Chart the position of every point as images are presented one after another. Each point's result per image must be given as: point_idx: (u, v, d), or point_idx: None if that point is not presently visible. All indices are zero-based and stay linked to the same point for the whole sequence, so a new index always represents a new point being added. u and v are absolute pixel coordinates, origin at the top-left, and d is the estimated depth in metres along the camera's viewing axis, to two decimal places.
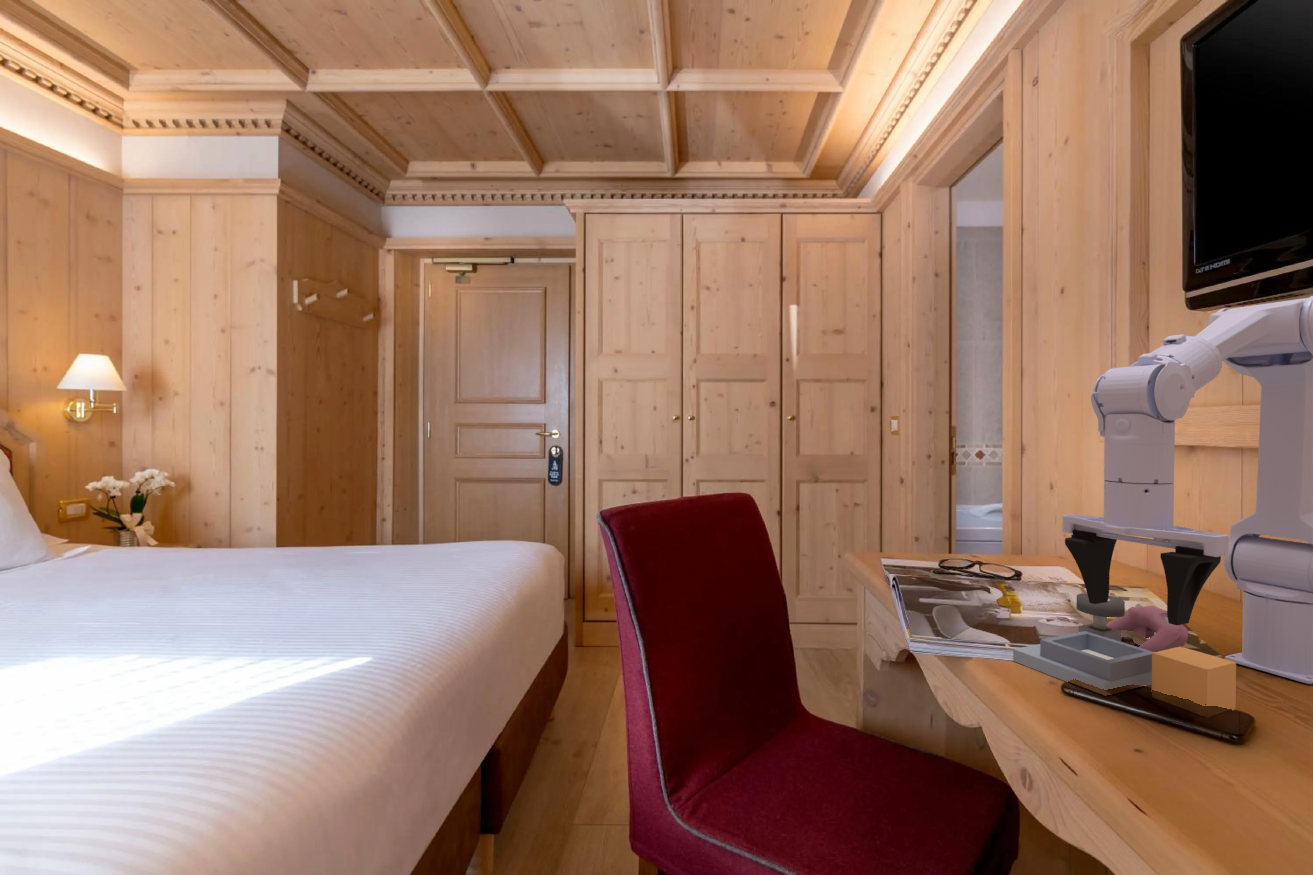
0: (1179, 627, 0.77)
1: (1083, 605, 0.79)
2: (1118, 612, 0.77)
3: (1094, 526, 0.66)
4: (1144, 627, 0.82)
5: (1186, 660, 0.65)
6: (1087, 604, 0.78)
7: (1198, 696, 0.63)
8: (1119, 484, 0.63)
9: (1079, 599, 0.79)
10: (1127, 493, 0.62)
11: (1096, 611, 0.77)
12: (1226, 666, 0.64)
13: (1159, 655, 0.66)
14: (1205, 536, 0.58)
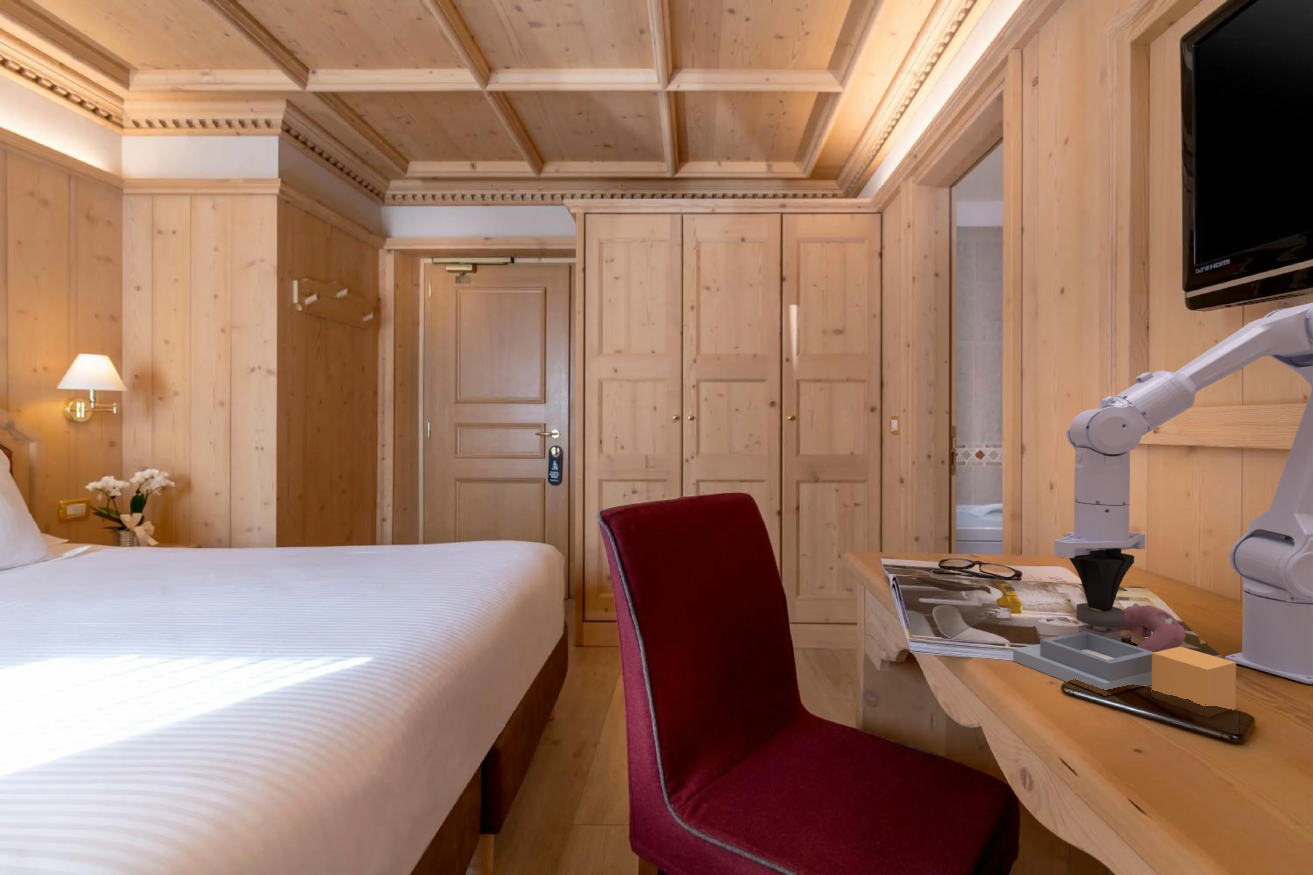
0: (1176, 626, 0.77)
1: (1083, 615, 0.79)
2: (1117, 622, 0.77)
3: None
4: (1141, 626, 0.82)
5: (1186, 660, 0.65)
6: (1086, 614, 0.78)
7: (1198, 696, 0.63)
8: None
9: (1079, 609, 0.79)
10: None
11: (1096, 621, 0.77)
12: (1226, 666, 0.64)
13: (1159, 655, 0.66)
14: None
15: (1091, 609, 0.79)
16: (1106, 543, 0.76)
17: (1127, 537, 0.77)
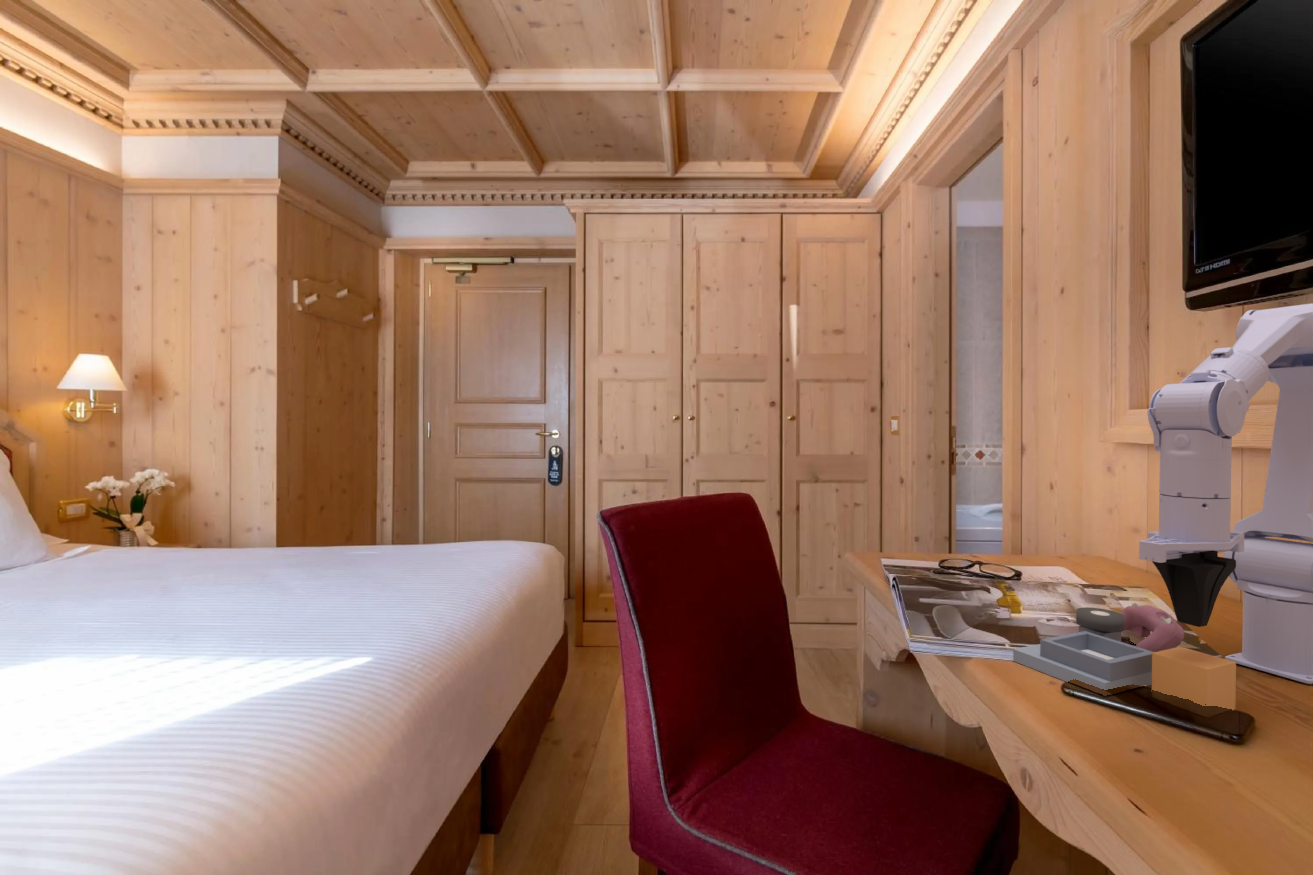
0: (1175, 626, 0.77)
1: (1083, 619, 0.79)
2: (1117, 626, 0.77)
3: None
4: (1140, 626, 0.82)
5: (1186, 660, 0.65)
6: (1086, 619, 0.78)
7: (1198, 696, 0.63)
8: (1163, 494, 0.68)
9: (1079, 613, 0.79)
10: None
11: (1096, 626, 0.77)
12: (1226, 666, 0.64)
13: (1159, 655, 0.66)
14: None
15: (1091, 614, 0.79)
16: (1204, 545, 0.63)
17: (1229, 537, 0.63)
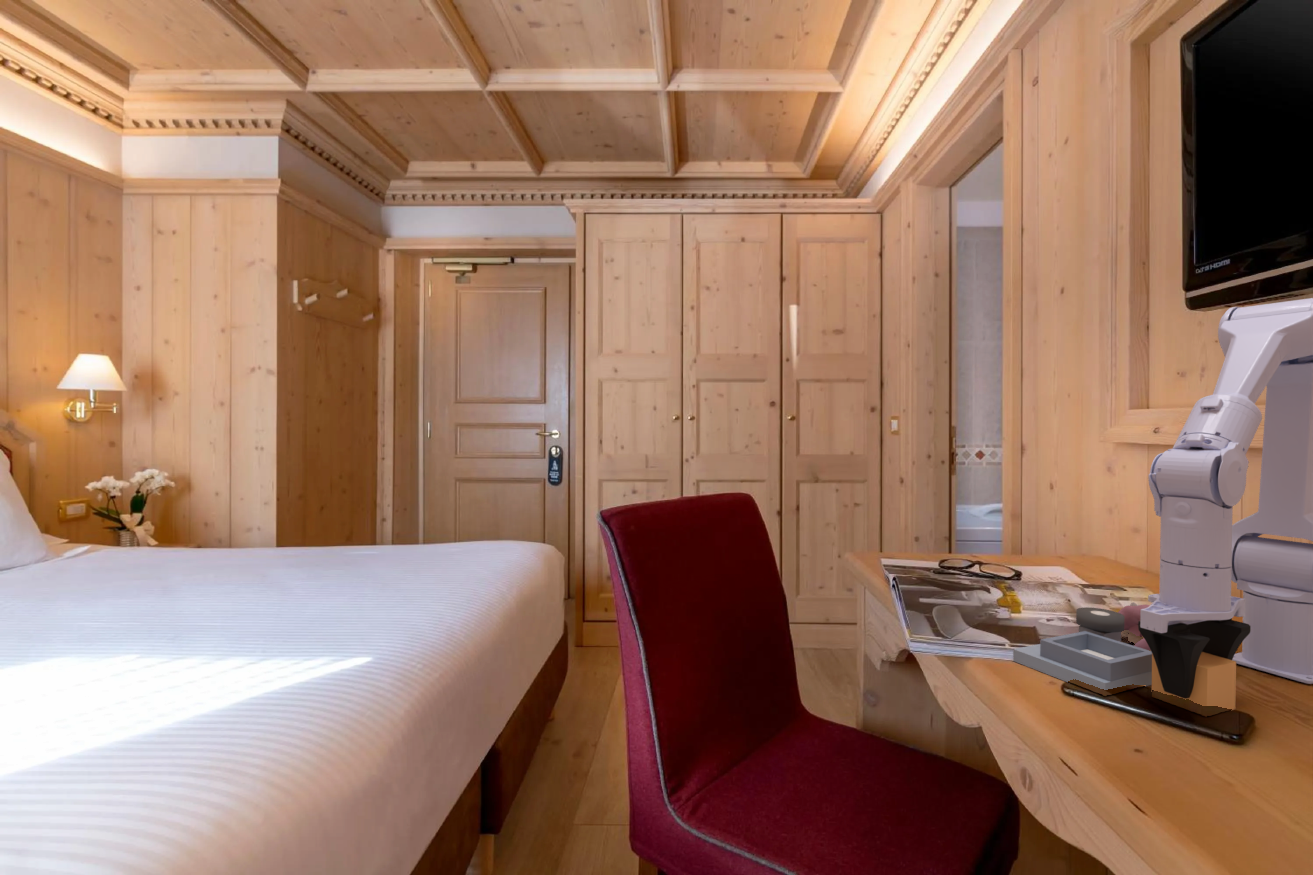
0: None
1: (1083, 619, 0.79)
2: (1117, 626, 0.77)
3: None
4: None
5: None
6: (1086, 619, 0.78)
7: (1198, 695, 0.63)
8: None
9: (1079, 613, 0.79)
10: None
11: (1096, 626, 0.77)
12: (1226, 665, 0.64)
13: None
14: (1145, 609, 0.64)
15: (1091, 614, 0.79)
16: (1205, 614, 0.62)
17: (1229, 606, 0.63)
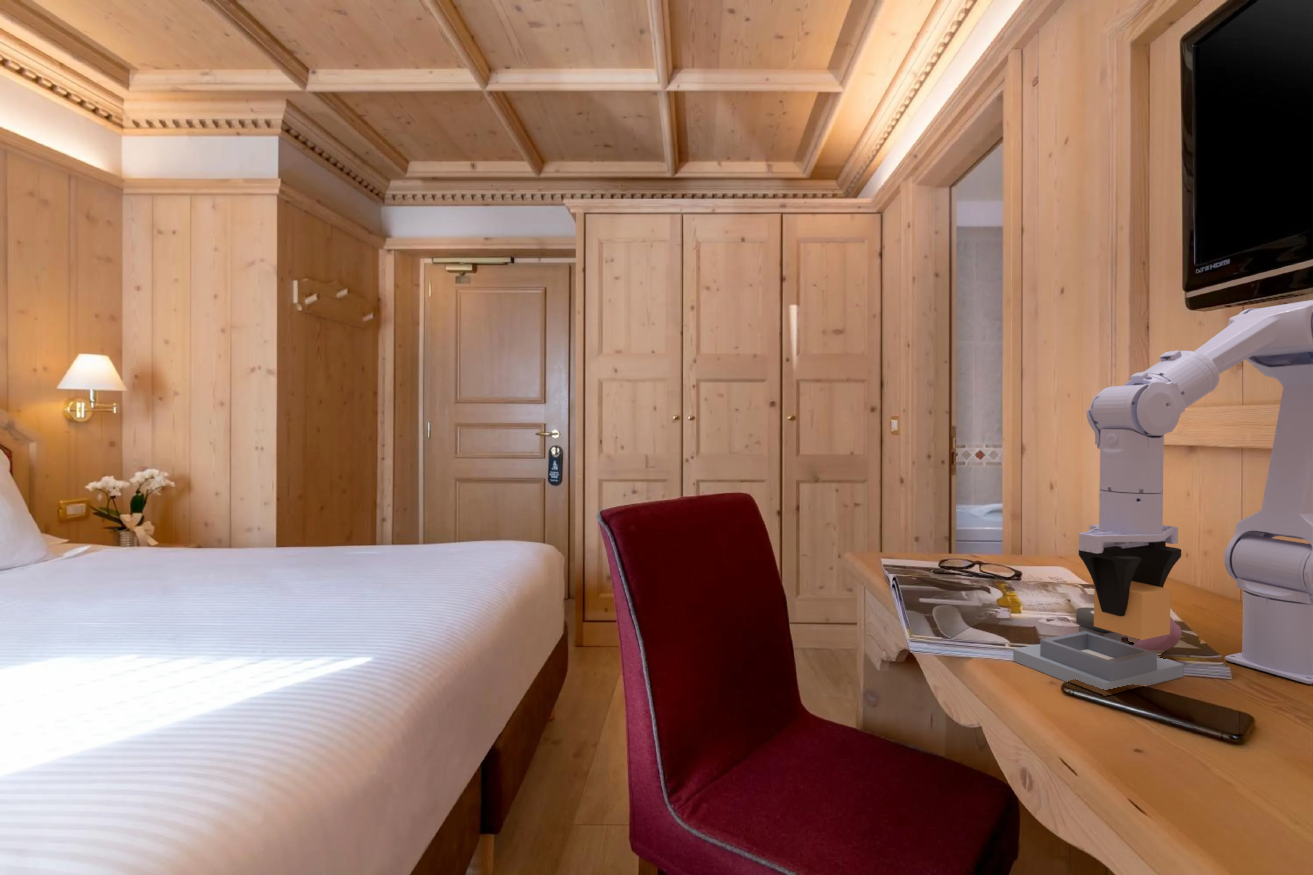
0: (1173, 625, 0.77)
1: (1083, 619, 0.79)
2: None
3: None
4: None
5: None
6: (1086, 619, 0.78)
7: (1134, 619, 0.67)
8: (1104, 490, 0.73)
9: (1079, 613, 0.79)
10: None
11: None
12: (1161, 592, 0.68)
13: None
14: None
15: (1091, 614, 0.79)
16: (1138, 536, 0.67)
17: (1161, 530, 0.68)
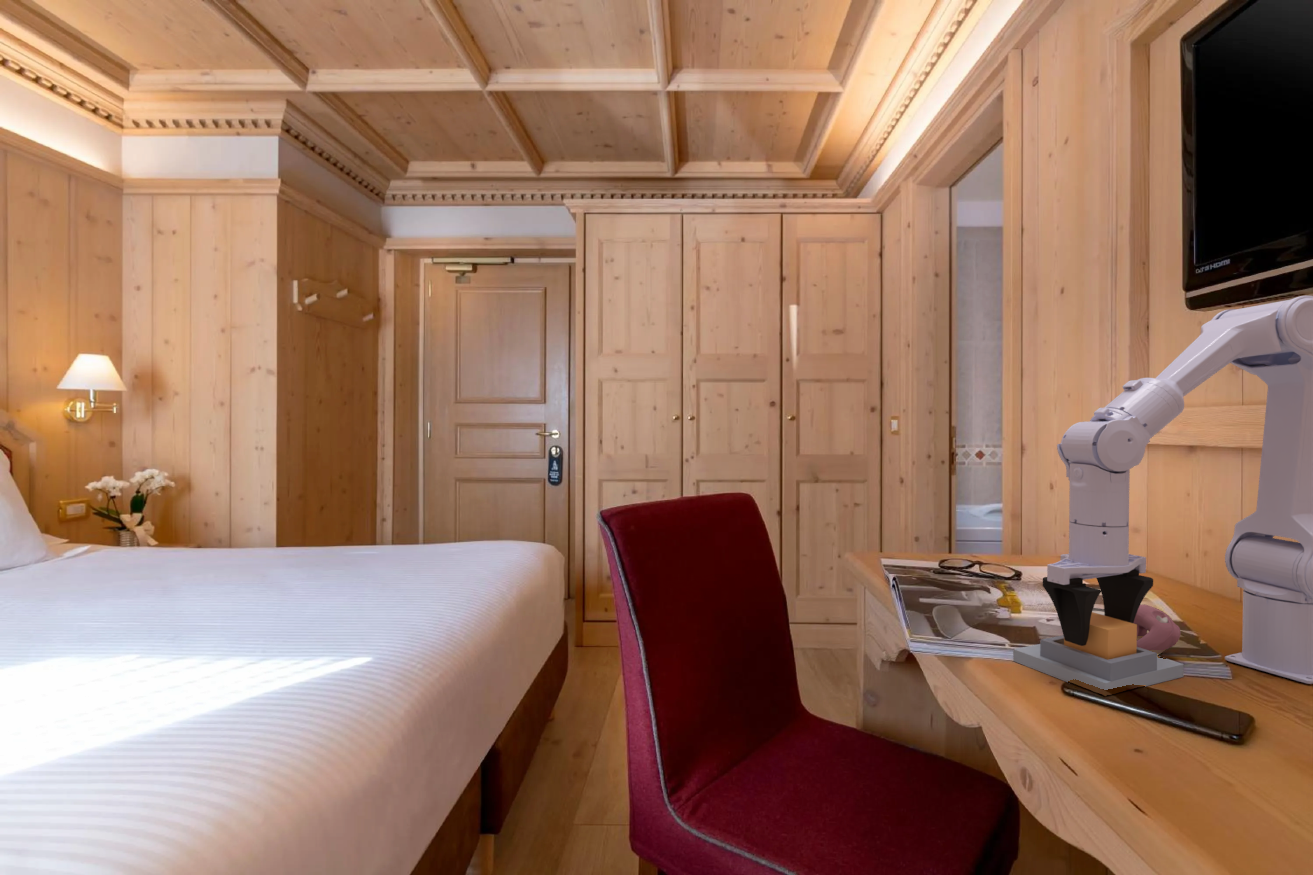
0: (1171, 625, 0.77)
1: None
2: None
3: None
4: (1137, 625, 0.83)
5: (1092, 623, 0.72)
6: None
7: (1101, 654, 0.70)
8: None
9: None
10: None
11: None
12: (1127, 628, 0.70)
13: None
14: (1051, 564, 0.71)
15: None
16: (1103, 568, 0.70)
17: (1126, 561, 0.70)
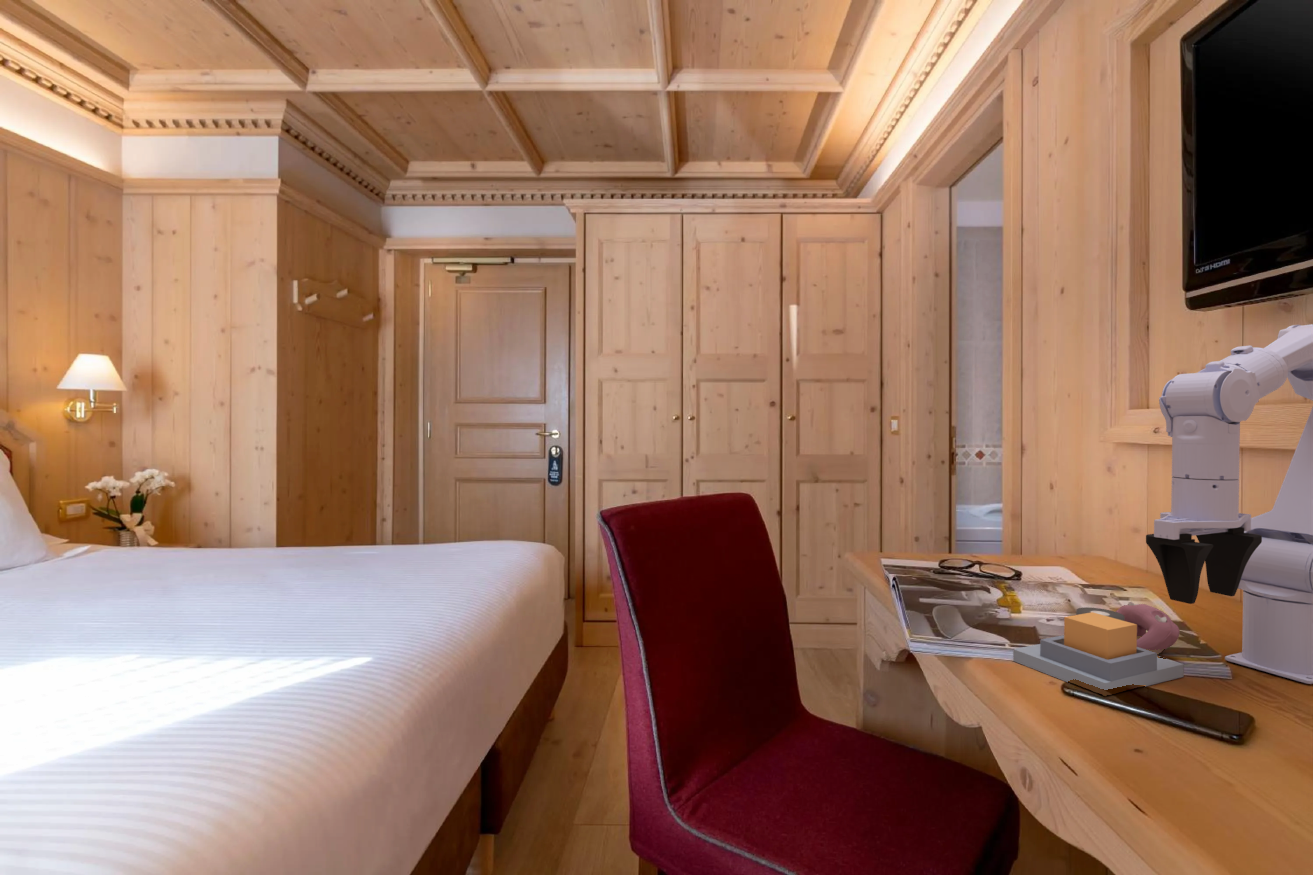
0: (1170, 625, 0.77)
1: None
2: None
3: None
4: None
5: (1092, 623, 0.72)
6: None
7: (1101, 654, 0.70)
8: (1175, 477, 0.73)
9: (1079, 613, 0.79)
10: None
11: None
12: (1127, 628, 0.70)
13: (1070, 619, 0.73)
14: None
15: None
16: (1214, 523, 0.67)
17: (1237, 516, 0.68)
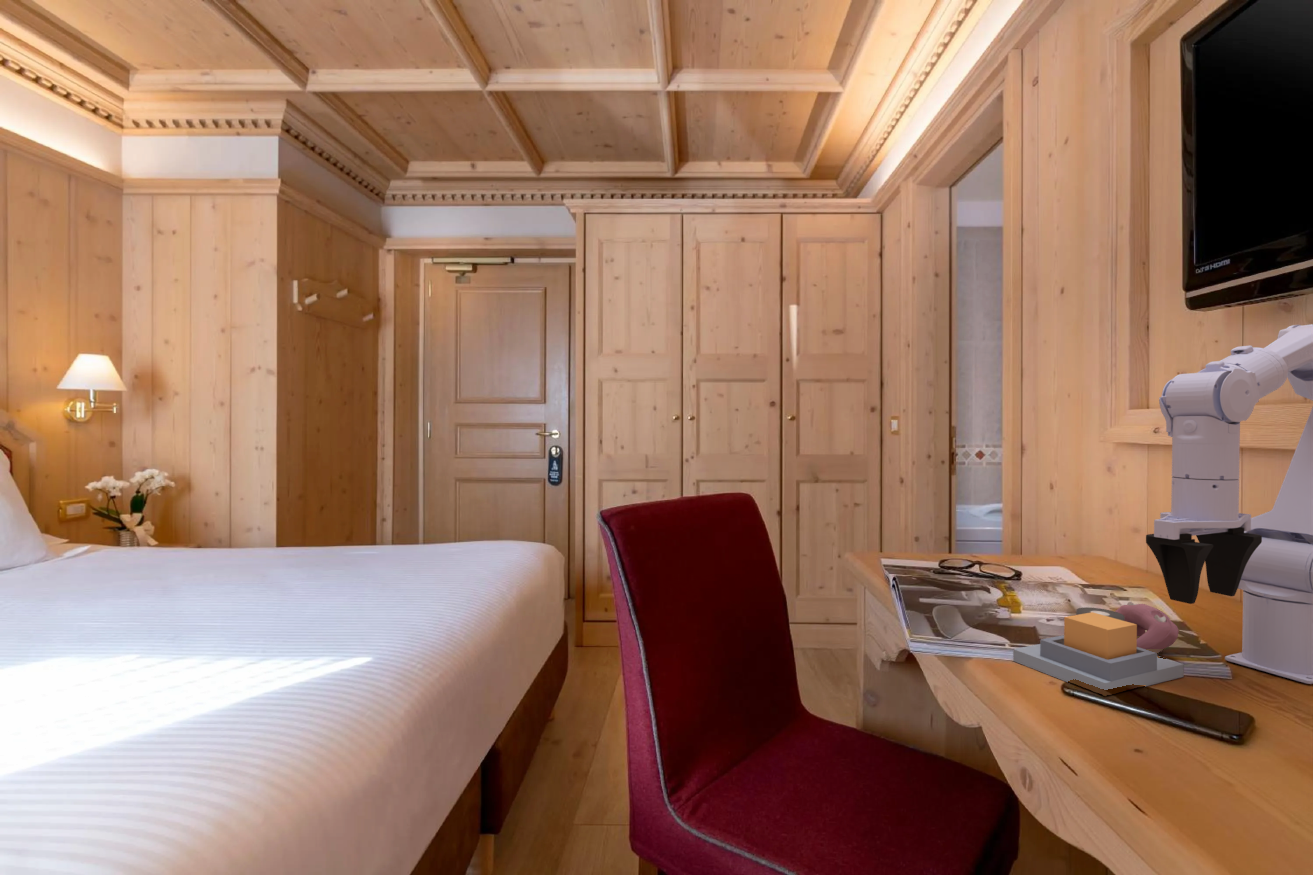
0: (1170, 625, 0.77)
1: None
2: None
3: None
4: None
5: (1092, 623, 0.72)
6: None
7: (1101, 654, 0.70)
8: (1175, 477, 0.73)
9: (1079, 613, 0.79)
10: None
11: None
12: (1127, 628, 0.70)
13: (1070, 619, 0.73)
14: None
15: None
16: (1214, 523, 0.67)
17: (1237, 516, 0.68)
